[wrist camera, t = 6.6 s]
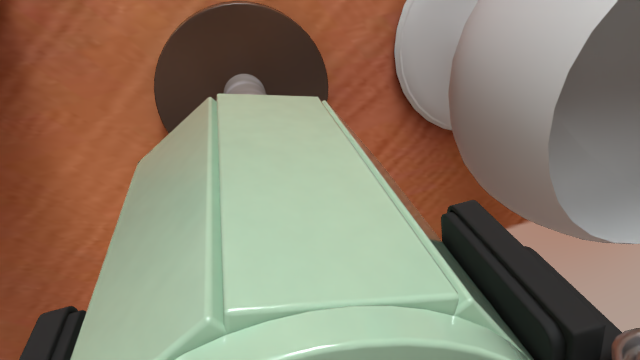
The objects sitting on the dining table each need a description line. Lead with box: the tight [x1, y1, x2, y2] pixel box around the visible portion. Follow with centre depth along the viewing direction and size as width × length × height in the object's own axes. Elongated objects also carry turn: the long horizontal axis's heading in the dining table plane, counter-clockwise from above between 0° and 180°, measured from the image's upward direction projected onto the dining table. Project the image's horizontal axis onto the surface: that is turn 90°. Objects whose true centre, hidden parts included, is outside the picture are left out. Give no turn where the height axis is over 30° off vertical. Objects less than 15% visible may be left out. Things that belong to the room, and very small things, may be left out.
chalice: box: [394, 0, 640, 244], centre depth 23 cm, size 14×14×15 cm
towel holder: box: [154, 1, 328, 133], centre depth 22 cm, size 10×10×14 cm
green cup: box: [70, 94, 534, 360], centre depth 10 cm, size 7×7×9 cm
